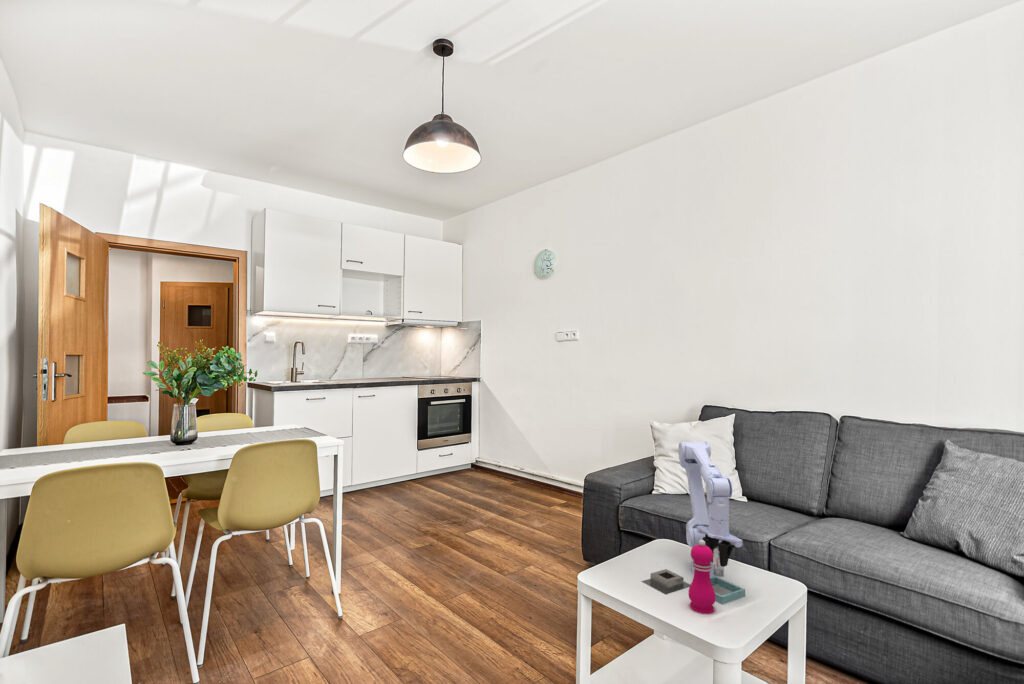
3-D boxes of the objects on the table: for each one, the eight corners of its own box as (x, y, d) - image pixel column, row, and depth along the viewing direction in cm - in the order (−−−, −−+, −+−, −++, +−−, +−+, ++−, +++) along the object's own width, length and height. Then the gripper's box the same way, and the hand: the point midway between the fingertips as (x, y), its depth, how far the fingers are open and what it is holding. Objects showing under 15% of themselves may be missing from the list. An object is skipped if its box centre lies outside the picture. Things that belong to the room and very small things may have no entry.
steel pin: (718, 571, 152) (717, 543, 152) (725, 575, 149) (725, 547, 149) (710, 573, 151) (710, 545, 151) (718, 577, 148) (718, 548, 148)
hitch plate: (668, 576, 163) (668, 565, 163) (692, 589, 154) (692, 577, 154) (641, 584, 157) (641, 573, 157) (665, 597, 148) (665, 585, 148)
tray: (715, 585, 157) (715, 576, 157) (745, 599, 148) (745, 589, 148) (692, 593, 152) (692, 583, 152) (722, 607, 143) (722, 597, 143)
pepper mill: (701, 620, 136) (701, 546, 136) (682, 608, 142) (682, 537, 143) (721, 615, 138) (721, 542, 139) (702, 603, 145) (702, 534, 146)
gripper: (690, 513, 155) (690, 557, 154) (731, 527, 142) (731, 575, 142) (705, 510, 158) (705, 553, 158) (746, 523, 146) (746, 570, 145)
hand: (718, 563), depth 150 cm, fingers closed on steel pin, 3 cm apart
